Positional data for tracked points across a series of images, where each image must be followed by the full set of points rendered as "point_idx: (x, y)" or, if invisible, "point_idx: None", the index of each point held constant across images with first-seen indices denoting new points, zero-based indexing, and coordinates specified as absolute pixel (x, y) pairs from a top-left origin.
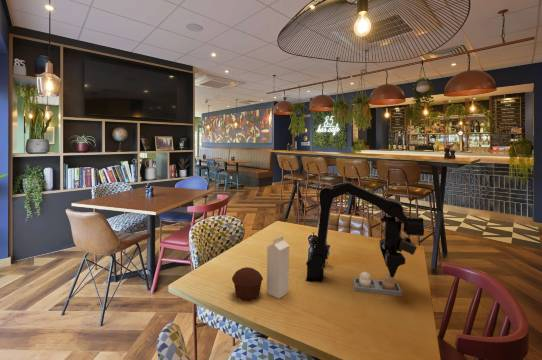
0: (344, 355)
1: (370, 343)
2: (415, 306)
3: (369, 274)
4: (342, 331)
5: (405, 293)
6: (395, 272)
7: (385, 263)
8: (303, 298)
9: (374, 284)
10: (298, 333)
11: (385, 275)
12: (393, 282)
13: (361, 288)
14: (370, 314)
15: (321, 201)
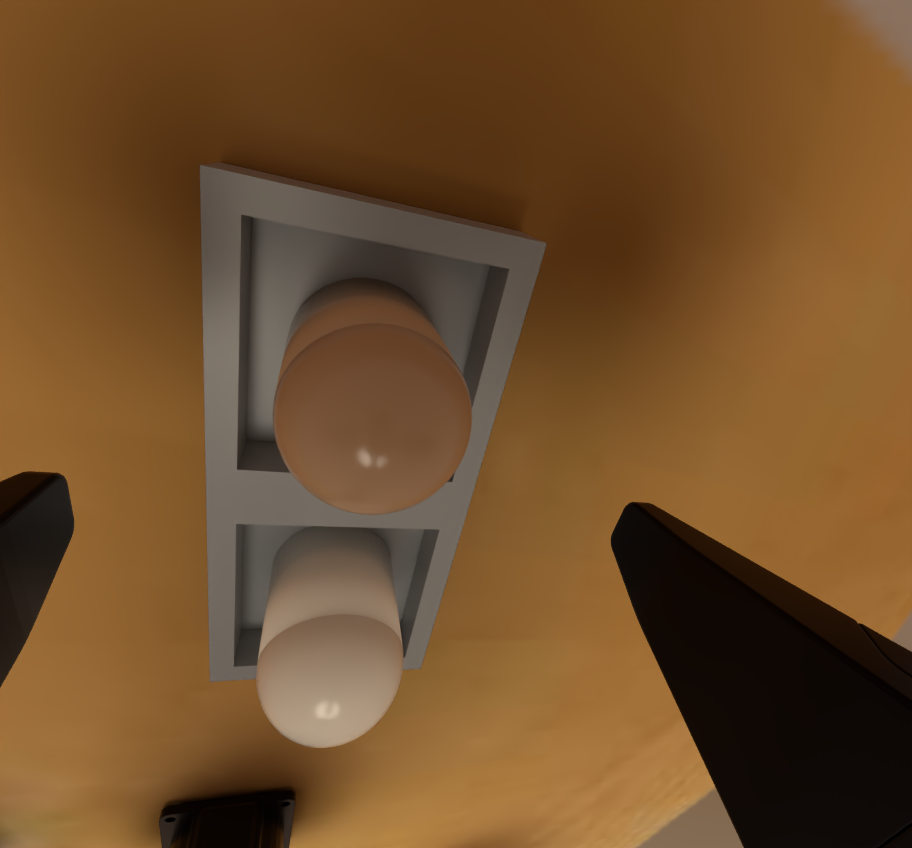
0: None
1: (884, 581)
2: (719, 146)
3: (350, 682)
4: None
5: (423, 120)
6: (774, 580)
7: (28, 625)
8: (493, 805)
9: (349, 522)
10: None
11: (371, 513)
12: (460, 372)
13: (432, 622)
14: None
15: None
